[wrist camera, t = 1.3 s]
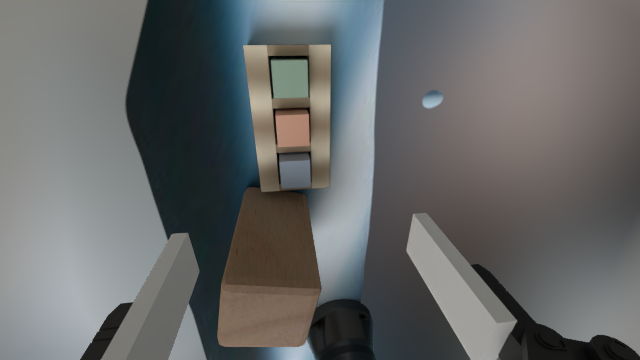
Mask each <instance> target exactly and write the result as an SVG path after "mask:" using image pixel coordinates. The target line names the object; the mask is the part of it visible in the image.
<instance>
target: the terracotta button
mask: <svg viewBox="0 0 640 360" xmlns="http://www.w3.org/2000/svg"><path fill="white" fill-rule="evenodd" d="M275 116H276V128H277V140H278V147H295V146H310V141H309V114H308V111H307V109H306V108H277V109H276V115H275Z"/></svg>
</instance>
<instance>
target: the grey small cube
mask: <svg viewBox="0 0 640 360" xmlns="http://www.w3.org/2000/svg"><path fill="white" fill-rule="evenodd" d="M279 164H280V176H281V188H282V189H287V188H302V187H311V179H310V158H309V154H308V151H306V152H287V153H279Z"/></svg>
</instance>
